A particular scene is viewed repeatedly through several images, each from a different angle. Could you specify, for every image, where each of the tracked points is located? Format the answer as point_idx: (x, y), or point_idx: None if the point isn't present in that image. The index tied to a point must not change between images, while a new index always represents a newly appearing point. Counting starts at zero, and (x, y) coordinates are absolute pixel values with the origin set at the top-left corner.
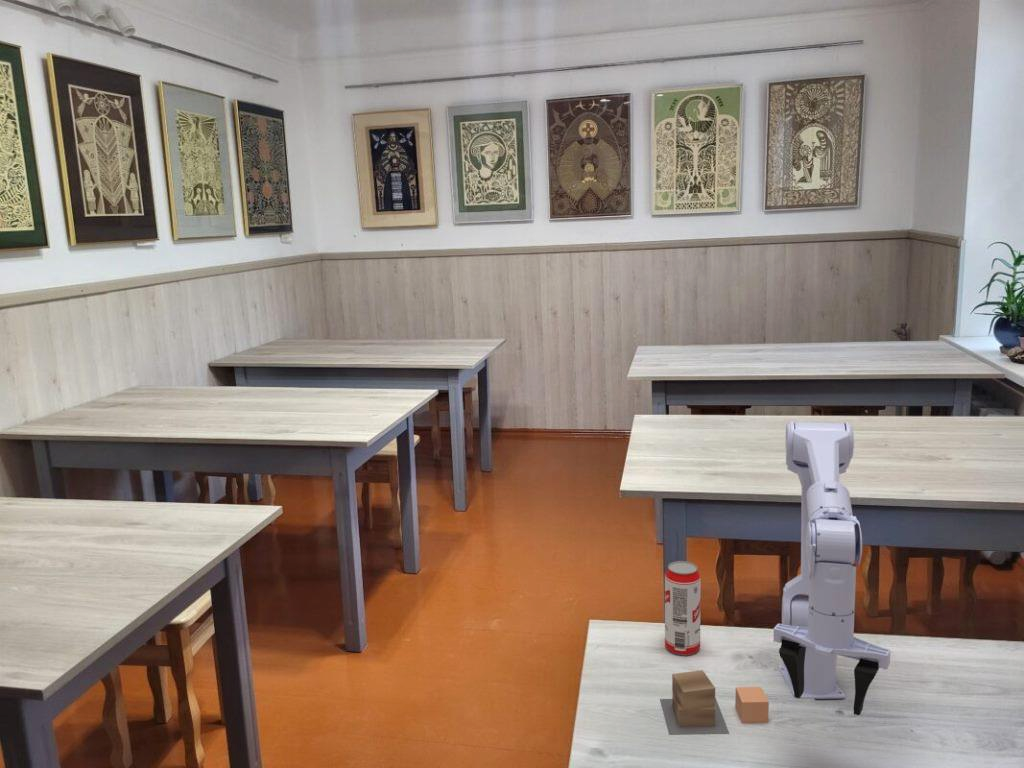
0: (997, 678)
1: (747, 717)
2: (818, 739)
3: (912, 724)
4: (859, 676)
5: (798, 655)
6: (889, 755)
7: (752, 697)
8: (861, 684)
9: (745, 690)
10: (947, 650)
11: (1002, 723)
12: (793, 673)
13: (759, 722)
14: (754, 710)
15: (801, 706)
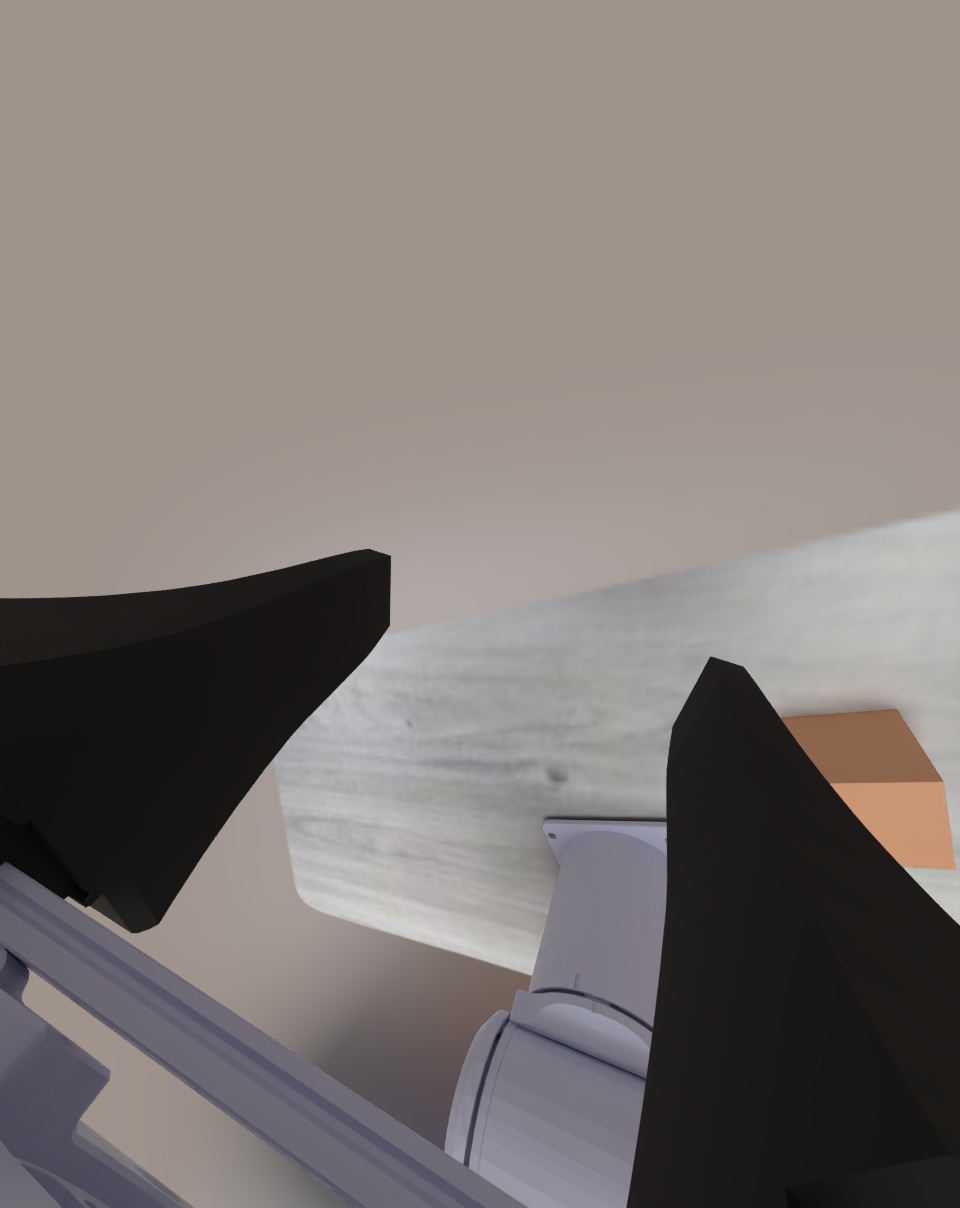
0: (307, 850)
1: (882, 732)
2: (615, 670)
3: (408, 741)
4: (9, 635)
5: (798, 1129)
6: (443, 637)
7: (875, 809)
8: (135, 611)
9: (904, 848)
10: (375, 919)
11: (286, 750)
12: (818, 820)
13: (818, 722)
14: (858, 754)
15: (656, 796)
